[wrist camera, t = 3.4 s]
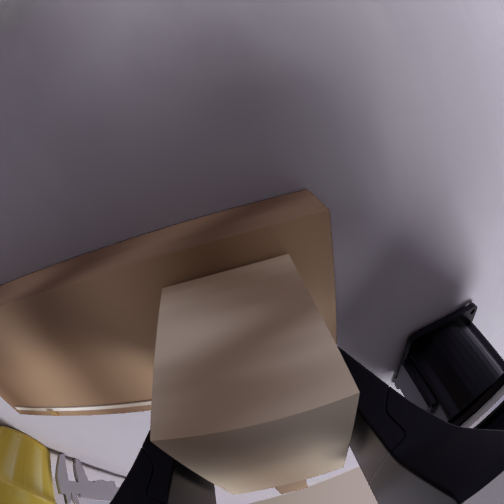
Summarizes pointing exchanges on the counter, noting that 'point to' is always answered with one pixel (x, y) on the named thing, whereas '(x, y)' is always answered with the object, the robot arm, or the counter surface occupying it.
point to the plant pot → (24, 469)
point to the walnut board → (141, 303)
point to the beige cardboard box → (250, 380)
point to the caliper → (81, 484)
